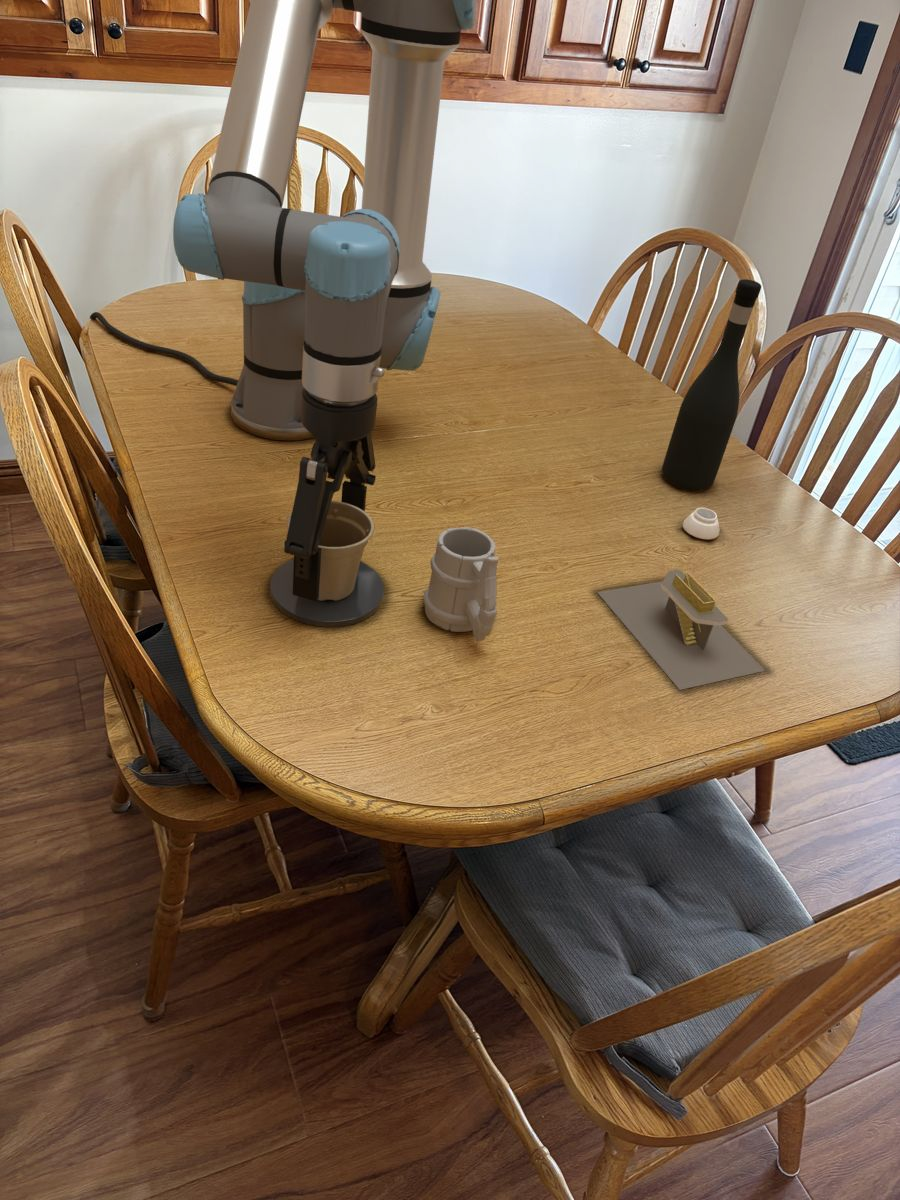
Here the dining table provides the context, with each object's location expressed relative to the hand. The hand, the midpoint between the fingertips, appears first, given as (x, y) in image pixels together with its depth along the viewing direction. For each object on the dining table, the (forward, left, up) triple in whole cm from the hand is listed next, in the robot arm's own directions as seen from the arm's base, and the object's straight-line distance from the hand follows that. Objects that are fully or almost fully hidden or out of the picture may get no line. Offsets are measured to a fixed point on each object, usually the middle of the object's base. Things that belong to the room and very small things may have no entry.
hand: (329, 562), depth 106 cm
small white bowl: (+41, +35, -4) cm, 54 cm away
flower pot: (0, 0, -3) cm, 3 cm away
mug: (+16, +1, -4) cm, 17 cm away
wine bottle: (+38, +49, -4) cm, 62 cm away
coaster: (0, 0, -4) cm, 4 cm away
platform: (+40, +11, -4) cm, 42 cm away
